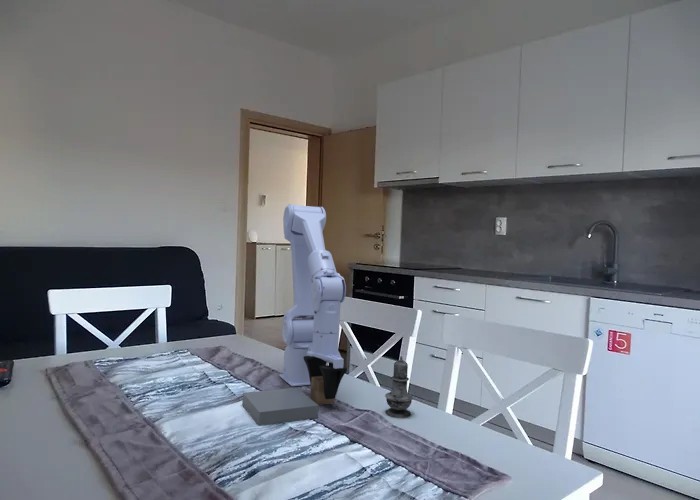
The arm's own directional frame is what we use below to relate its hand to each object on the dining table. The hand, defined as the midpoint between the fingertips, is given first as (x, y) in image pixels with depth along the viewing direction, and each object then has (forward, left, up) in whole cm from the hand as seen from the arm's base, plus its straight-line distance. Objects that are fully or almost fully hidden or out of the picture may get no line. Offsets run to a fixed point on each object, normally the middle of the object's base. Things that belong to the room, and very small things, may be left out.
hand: (322, 393), depth 106 cm
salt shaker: (+12, +12, -2) cm, 17 cm away
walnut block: (0, 0, -2) cm, 2 cm away
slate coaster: (+3, -11, -2) cm, 12 cm away
